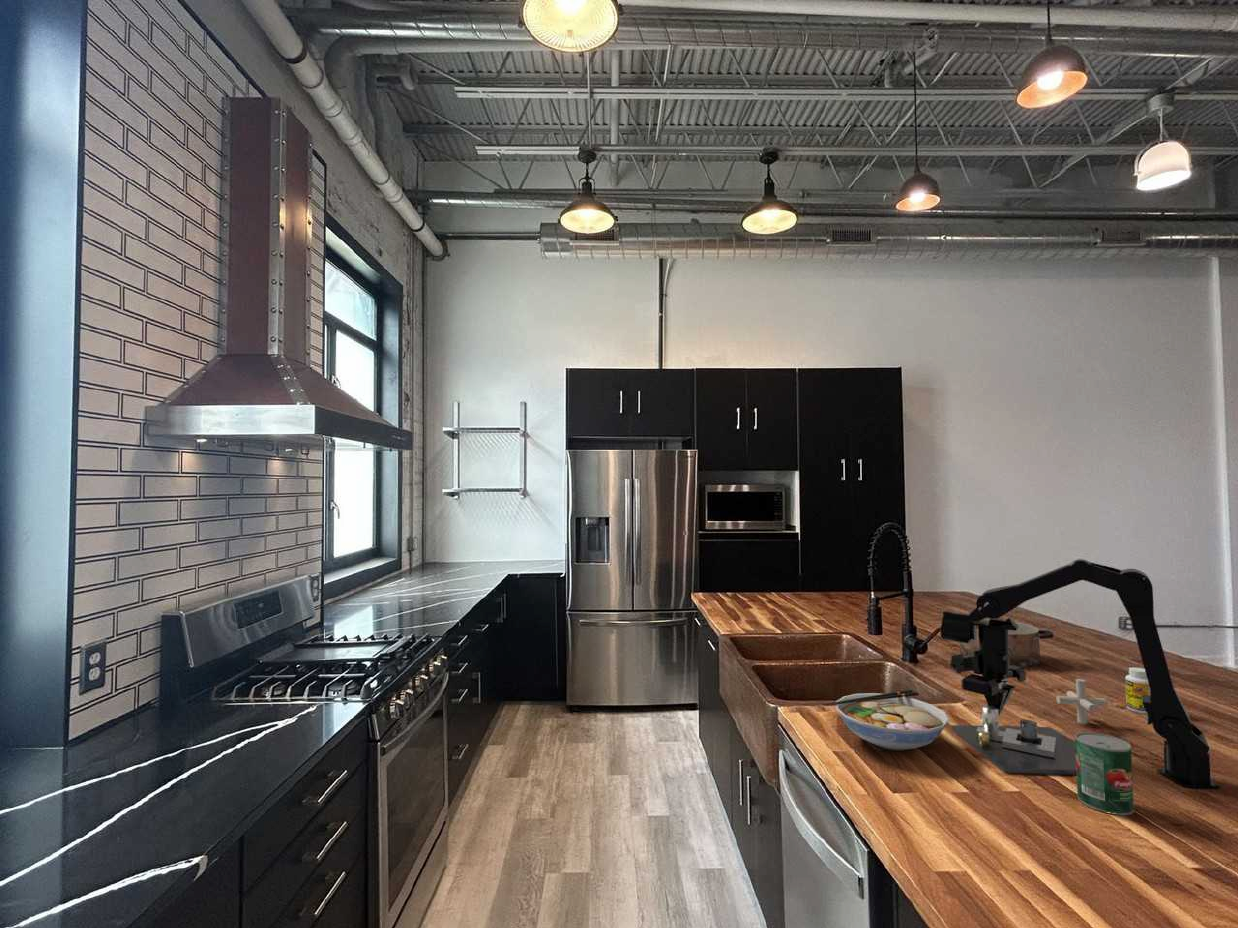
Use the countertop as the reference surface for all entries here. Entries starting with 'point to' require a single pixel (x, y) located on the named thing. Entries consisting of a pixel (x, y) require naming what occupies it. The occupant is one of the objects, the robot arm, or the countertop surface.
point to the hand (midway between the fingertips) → (995, 717)
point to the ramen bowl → (892, 719)
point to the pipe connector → (1081, 701)
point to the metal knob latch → (1014, 735)
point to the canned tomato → (1104, 773)
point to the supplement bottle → (1136, 689)
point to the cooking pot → (1016, 645)
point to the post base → (1021, 760)
